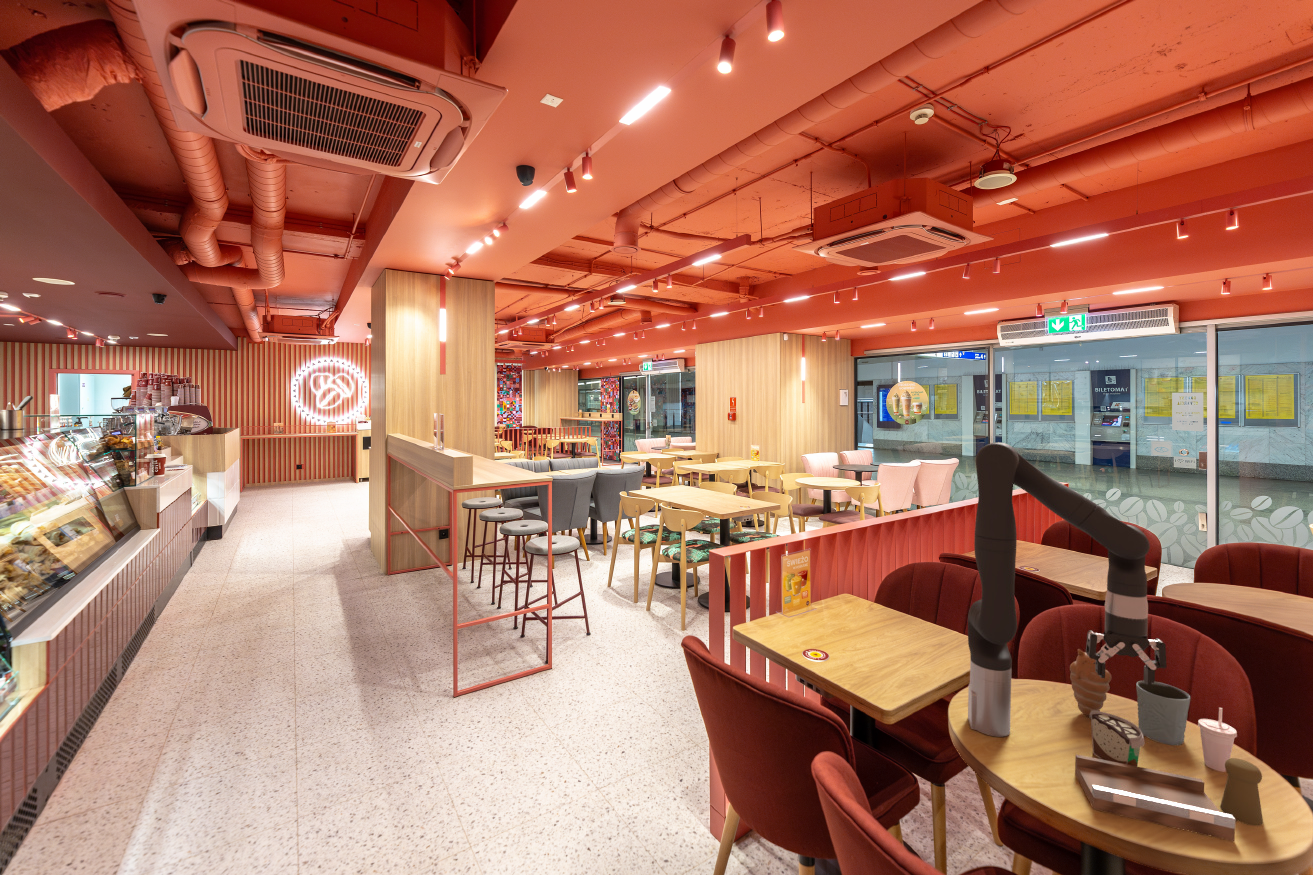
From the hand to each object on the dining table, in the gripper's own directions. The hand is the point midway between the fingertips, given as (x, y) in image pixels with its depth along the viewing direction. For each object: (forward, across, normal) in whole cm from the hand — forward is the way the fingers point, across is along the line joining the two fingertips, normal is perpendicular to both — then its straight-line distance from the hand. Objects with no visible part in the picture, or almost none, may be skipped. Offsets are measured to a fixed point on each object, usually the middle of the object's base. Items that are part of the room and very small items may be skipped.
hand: (1124, 679), depth 127 cm
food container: (+21, 0, 0) cm, 21 cm away
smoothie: (+21, +20, +8) cm, 30 cm away
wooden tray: (+20, 0, -14) cm, 25 cm away
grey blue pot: (+21, +14, +19) cm, 31 cm away
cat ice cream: (+21, 0, +23) cm, 31 cm away
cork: (+21, +16, -10) cm, 28 cm away
